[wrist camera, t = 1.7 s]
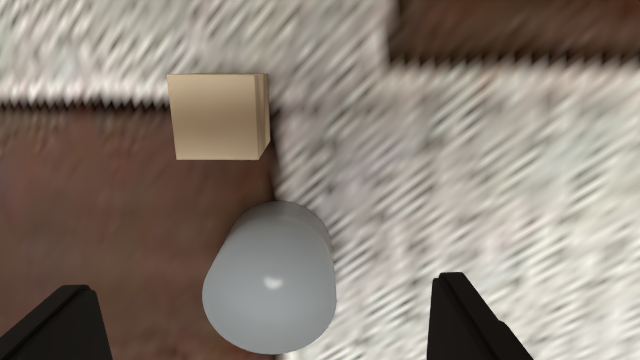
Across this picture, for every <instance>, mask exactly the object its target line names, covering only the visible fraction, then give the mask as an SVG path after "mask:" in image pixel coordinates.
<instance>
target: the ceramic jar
mask: <svg viewBox="0 0 640 360" xmlns="http://www.w3.org/2000/svg"><path fill="white" fill-rule="evenodd" d="M202 299H203V306H204V310H205V312H206V315H207V317H208V319H209V321H210V323H211V324H212V326H213V327H214V328H215V329H216V331H217V332H218V333H219V334H220V335H221V336H223V337H224V338H225V339H226V340H228V341H229V342H231V343H232V344H234V345H236V346H238V347H240V348H243V349H245V350H248V351H252V352H255V353H262V354H282V353H288V352H292V351H296V350H298V349H301V348H303V347H305V346H307V345H309V344H311V343H312V342H313V341H315V340H316V339H317V338H319V337H320V336H321V335H322V334H323V333H324V331H325V330H326V329H327V328H328V326H329V324H330V323H331V321H332V318H333V316H334V313H335V309H336V301H337V300H336V286H335V274H334V263H333V252H332V242H331V237H330V235H329V232H328V230H327V228H326V226H325V225H324V223H323V222H322V220H321V219H320V218H319V217H318V216H317V215H316V214H314V213H313V212H312V211H310V210H309V209H307V208H305V207H303V206H301V205H298V204H295V203H292V202H286V201H270V202H265V203H261V204H258V205H256V206H254V207H252V208H250V209H248V210H247V211H245V212H244V213H243V214H242V215H241V216H240V217H239V218H238V219H237V220H236V222H235V223H234V225H233V226H232V228H231V230H230V232H229V234H228V236H227V238H226V240H225V241H224V243H223V245H222V247H221V249H220V251H219V253H218V255H217V257H216V258H215V260H214V262H213V264H212V266H211V268H210V270H209V272H208V274H207V276H206V278H205V281H204V285H203V292H202Z"/></svg>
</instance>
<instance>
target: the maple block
mask: <svg viewBox="0 0 640 360" xmlns="http://www.w3.org/2000/svg"><path fill="white" fill-rule="evenodd" d="M167 82H168V91H169V99H170V107H171V116H172V124H173V132H174V141H175V149H176V157H177V160H258V159H259V158H260V156H261V155H262V153H263V152H264V150H265V148H266V147H267V145H268V144H269V142H270V118H269V90H268V74H223V73H195V74H169V75H167Z"/></svg>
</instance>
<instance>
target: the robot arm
mask: <svg viewBox="0 0 640 360" xmlns="http://www.w3.org/2000/svg"><path fill="white" fill-rule="evenodd" d="M0 360H113V359H112V355H111V351H110V347H109V343H108V338H107V334H106V330H105V326H104V322H103V318H102V314H101V310H100V306H99V302H98V298H97V294H96V292H95V291H94V290H91V289H90V287H89V286H88V285H64V286H61V287H60V288H58V289H57V290H56V291H55V292H53V293H52V294H51V295H50V296H49V297H48V298H46V299H45V300H44V301H43V302H42V303H40V304H39V305H38V306H37V307H36V308H35V309H33V310H32V311H31V312H30V313H29V314H28V315H26V316H25V317H24V318H23V319H22V320H21V321H19V322H18V323H17V324H16V325H15V326H13V327H12V328H11V329H10V330H9V331H8V332H6V333H5V334H4V335H3V336H2V337H1V338H0ZM427 360H533V358H532V357H531V356H530V354H529V353H528V352H527V350H526V349H525V348H524V347H523V345H522V344H521V343H520V341H519V340H518V339H517V337H516V336H515V335H514V334H513V332H512V331H511V330H510V328H509V327H508V326H507V325H506V324H505V323H504V322H502V321H499V320H498V319H497V317H496V316H495V315H494V313H493V312H492V311H491V309H490V308H489V307H488V305H487V304H486V303H485V301H484V300H483V299H482V297H481V296H480V295H479V293H478V292H477V291H476V289H475V288H474V287H473V285H472V284H471V283H470V281H469V280H468V279H467V277H466V276H465V275H464V274H463V273H462V272H447V273H440V275H439V278H434V279H433V283H432V295H431V307H430V319H429V332H428V344H427Z"/></svg>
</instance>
